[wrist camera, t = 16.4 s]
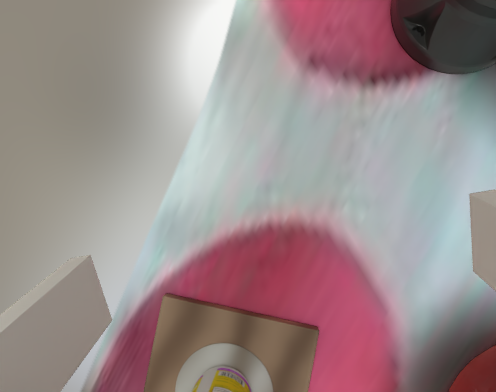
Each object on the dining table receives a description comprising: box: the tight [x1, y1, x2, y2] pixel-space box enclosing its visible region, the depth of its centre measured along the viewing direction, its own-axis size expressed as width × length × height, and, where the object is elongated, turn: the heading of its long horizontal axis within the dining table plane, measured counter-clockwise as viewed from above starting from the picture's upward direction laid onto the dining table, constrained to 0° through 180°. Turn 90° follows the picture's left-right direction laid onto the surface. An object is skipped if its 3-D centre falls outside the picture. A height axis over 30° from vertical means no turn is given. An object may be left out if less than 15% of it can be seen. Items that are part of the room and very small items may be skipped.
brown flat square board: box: [144, 293, 319, 392], centre depth 41 cm, size 18×18×2 cm
